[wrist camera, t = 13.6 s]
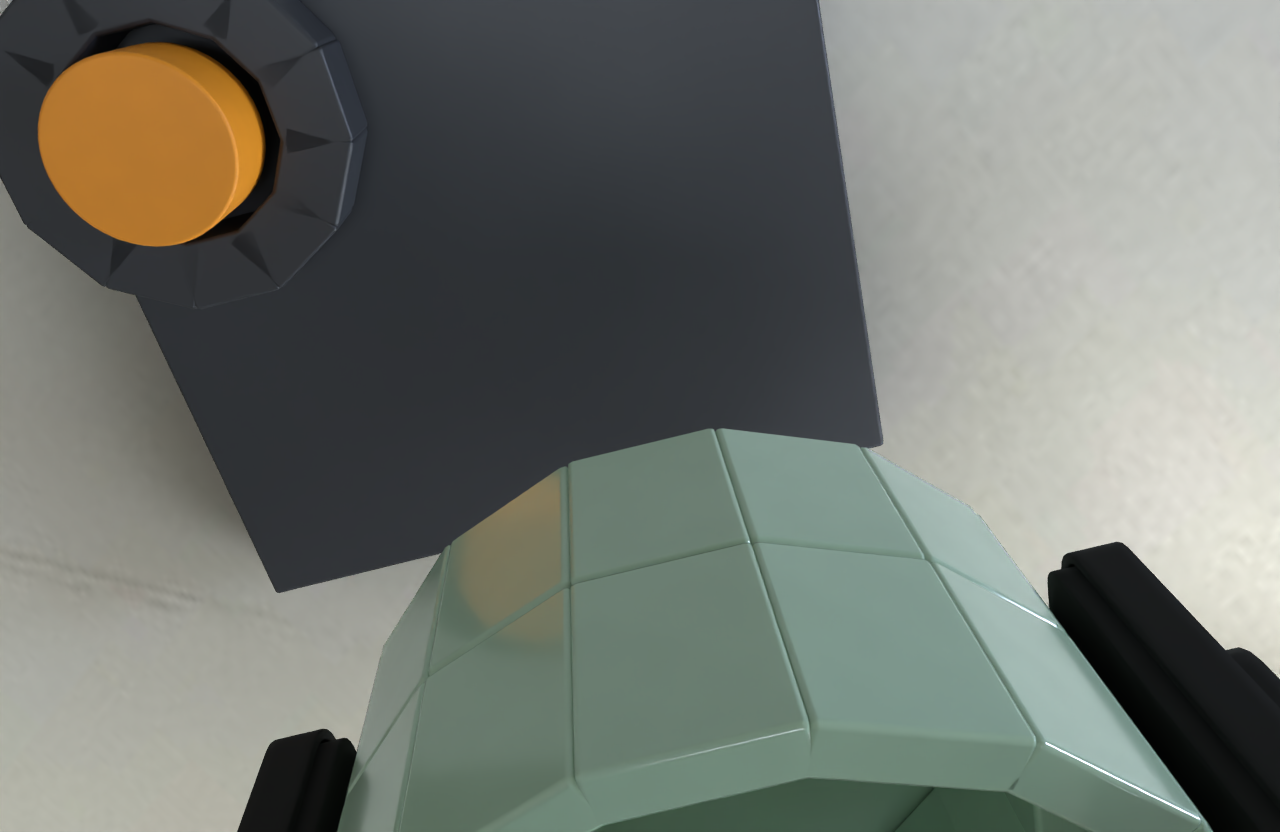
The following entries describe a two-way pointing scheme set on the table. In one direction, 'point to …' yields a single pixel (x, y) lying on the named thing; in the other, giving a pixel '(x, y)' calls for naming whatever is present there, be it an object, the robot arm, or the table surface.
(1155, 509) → the table surface
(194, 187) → the orange cylinder
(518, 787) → the bowl
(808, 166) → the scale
